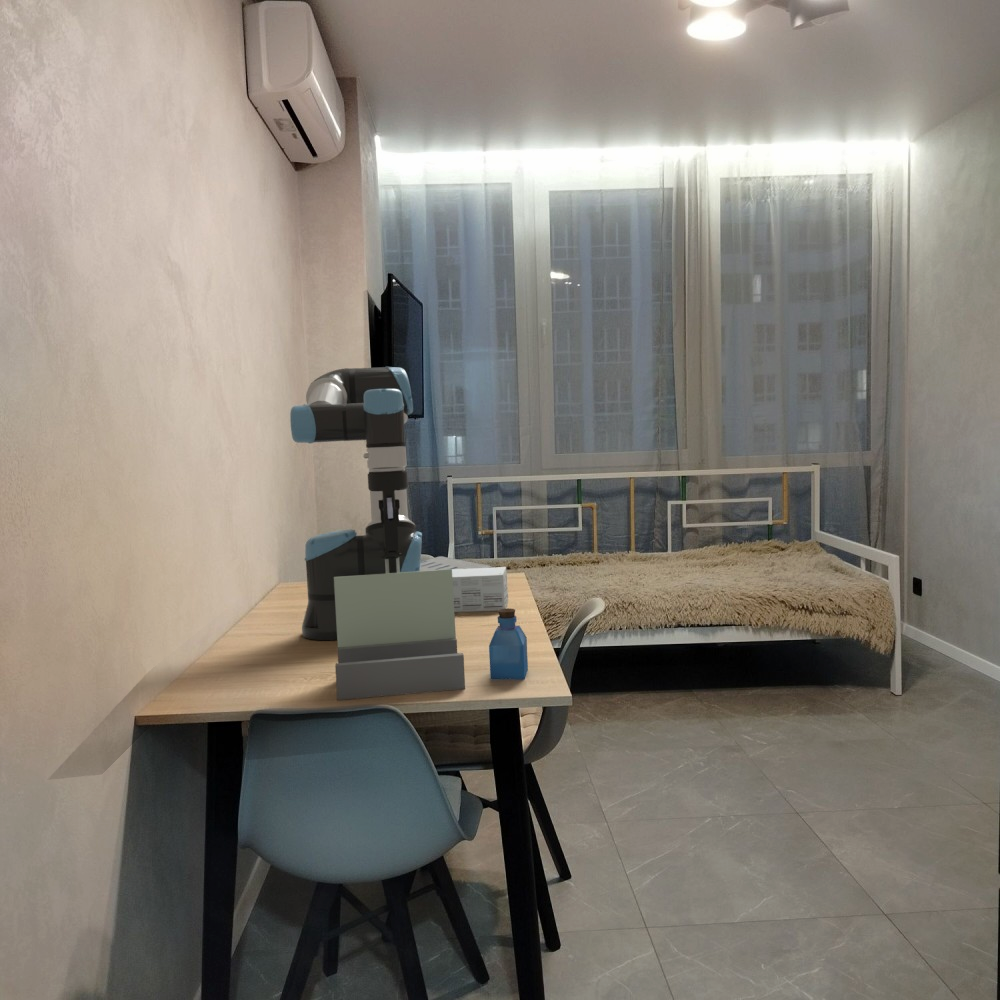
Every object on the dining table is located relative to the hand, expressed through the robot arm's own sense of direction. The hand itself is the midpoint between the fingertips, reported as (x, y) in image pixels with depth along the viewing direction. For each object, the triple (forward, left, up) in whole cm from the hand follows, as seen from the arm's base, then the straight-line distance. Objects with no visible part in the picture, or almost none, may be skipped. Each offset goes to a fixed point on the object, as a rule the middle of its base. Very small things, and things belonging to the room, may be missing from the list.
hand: (393, 591), depth 167 cm
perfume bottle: (+13, +20, -15) cm, 28 cm away
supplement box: (-52, +22, -15) cm, 58 cm away
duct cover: (+6, 0, -2) cm, 6 cm away
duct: (+13, 0, -15) cm, 20 cm away
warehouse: (-81, +17, -15) cm, 84 cm away
